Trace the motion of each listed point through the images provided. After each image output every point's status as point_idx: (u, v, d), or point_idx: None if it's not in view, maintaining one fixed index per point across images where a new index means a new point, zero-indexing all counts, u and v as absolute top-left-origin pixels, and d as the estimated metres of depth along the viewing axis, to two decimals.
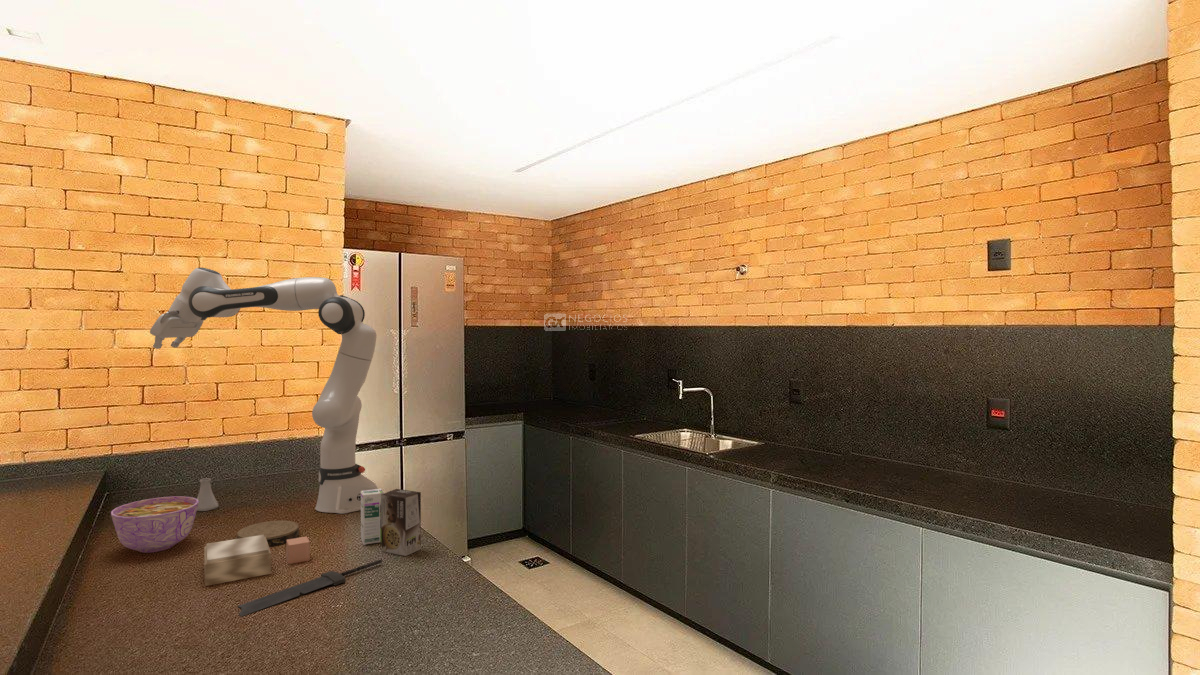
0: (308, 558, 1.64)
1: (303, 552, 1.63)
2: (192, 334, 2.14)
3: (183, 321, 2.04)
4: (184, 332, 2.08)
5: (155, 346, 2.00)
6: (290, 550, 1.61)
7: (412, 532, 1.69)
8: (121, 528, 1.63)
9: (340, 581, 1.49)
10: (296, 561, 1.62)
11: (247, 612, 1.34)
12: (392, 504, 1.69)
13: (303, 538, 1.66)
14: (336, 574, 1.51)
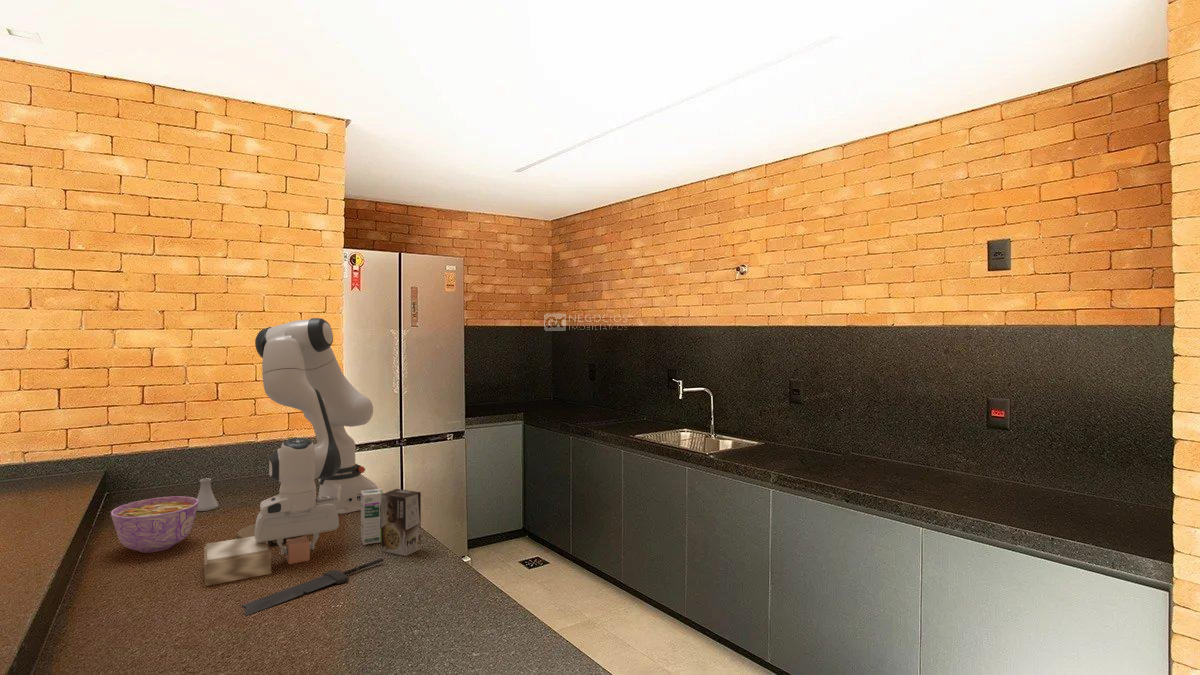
0: (308, 558, 1.64)
1: (304, 552, 1.63)
2: None
3: None
4: None
5: None
6: (290, 550, 1.61)
7: (412, 532, 1.69)
8: (121, 528, 1.63)
9: (343, 580, 1.50)
10: (296, 561, 1.62)
11: (252, 611, 1.34)
12: (392, 504, 1.69)
13: (303, 538, 1.66)
14: (339, 573, 1.52)
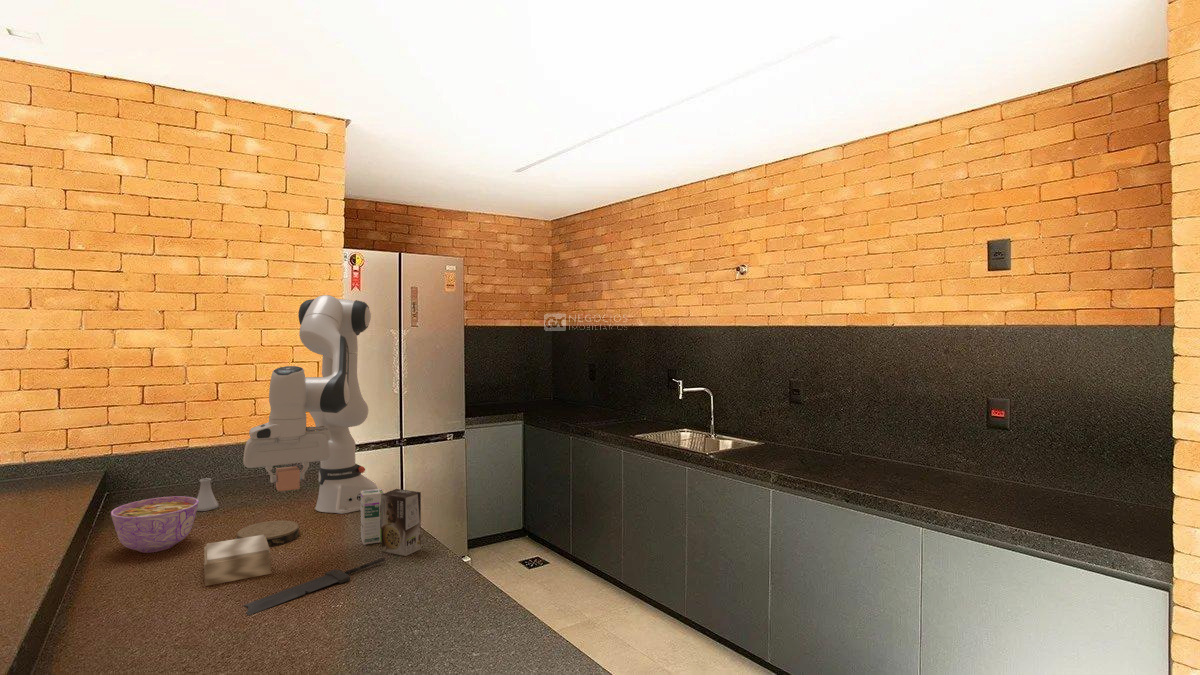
0: (298, 486, 1.62)
1: (293, 480, 1.61)
2: None
3: None
4: None
5: None
6: (280, 477, 1.59)
7: (412, 532, 1.69)
8: (121, 528, 1.63)
9: (345, 579, 1.50)
10: (286, 488, 1.60)
11: (254, 611, 1.34)
12: (392, 504, 1.69)
13: (293, 467, 1.65)
14: (340, 572, 1.52)
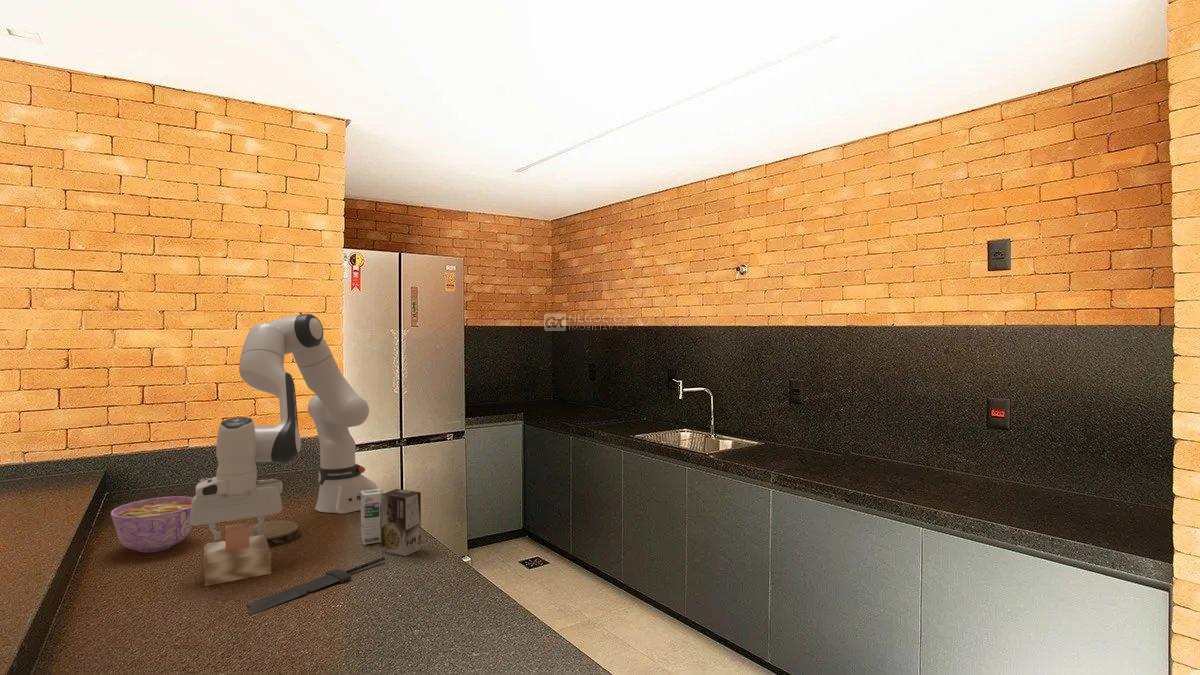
0: (247, 545, 1.56)
1: (242, 539, 1.55)
2: None
3: None
4: None
5: (259, 530, 1.60)
6: (228, 536, 1.54)
7: (412, 532, 1.69)
8: (121, 528, 1.63)
9: (346, 578, 1.50)
10: (234, 548, 1.54)
11: (257, 610, 1.35)
12: (392, 504, 1.69)
13: (243, 524, 1.59)
14: (341, 572, 1.52)
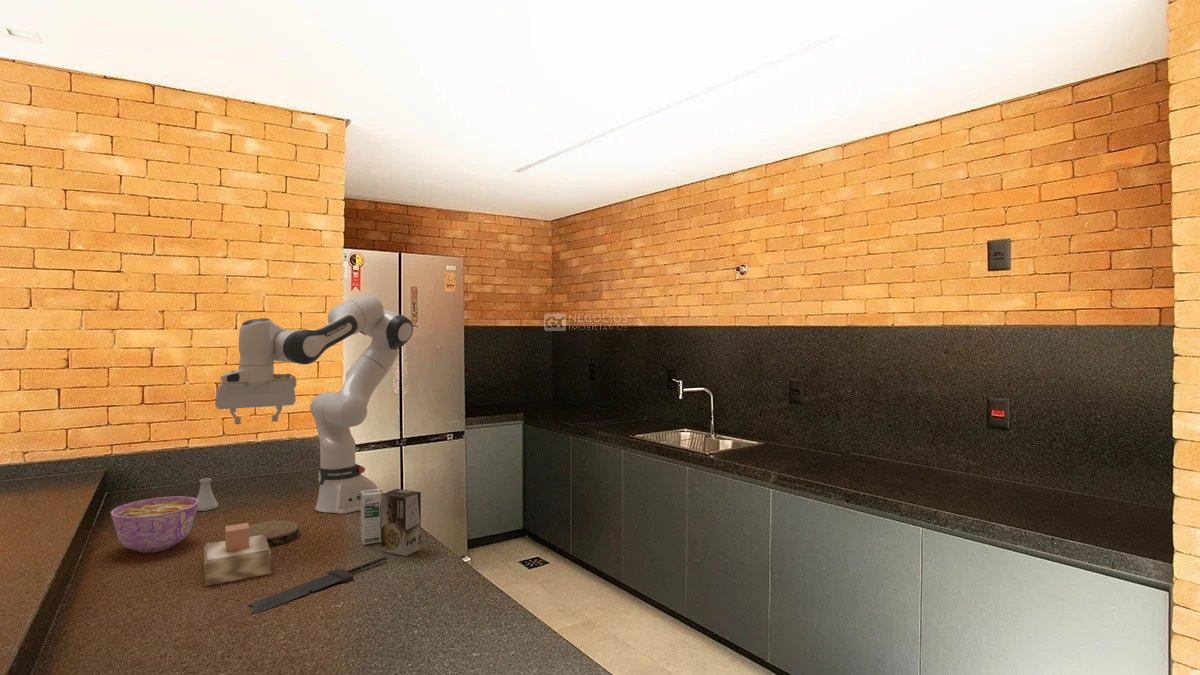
0: (247, 545, 1.56)
1: (242, 539, 1.55)
2: None
3: None
4: None
5: (277, 419, 1.81)
6: (228, 536, 1.54)
7: (412, 532, 1.69)
8: (121, 528, 1.63)
9: (348, 578, 1.51)
10: (234, 548, 1.54)
11: (259, 610, 1.35)
12: (392, 504, 1.69)
13: (243, 524, 1.59)
14: (343, 571, 1.53)
